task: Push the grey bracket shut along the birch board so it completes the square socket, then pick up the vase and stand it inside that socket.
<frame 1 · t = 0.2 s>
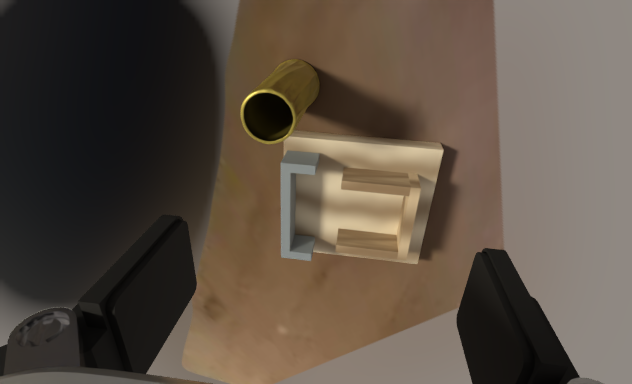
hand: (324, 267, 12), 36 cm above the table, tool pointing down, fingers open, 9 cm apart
board: (355, 195, 52), on the table
grey bracket: (299, 207, 48), point 5 cm above the table, slide at 6.0 cm
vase: (296, 84, 46), on the table
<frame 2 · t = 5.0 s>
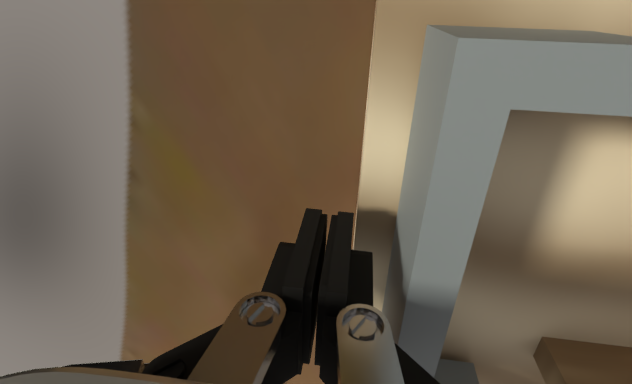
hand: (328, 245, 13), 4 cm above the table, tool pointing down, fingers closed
board: (601, 221, 15), on the table
grey bracket: (464, 284, 11), point 5 cm above the table, slide at 5.1 cm, touching gripper
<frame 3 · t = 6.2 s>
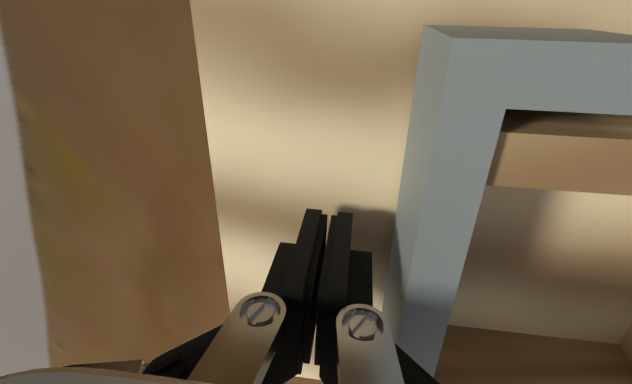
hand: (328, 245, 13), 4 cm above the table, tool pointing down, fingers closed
board: (465, 209, 15), on the table
grey bracket: (463, 283, 11), point 5 cm above the table, slide at -0.2 cm, touching gripper
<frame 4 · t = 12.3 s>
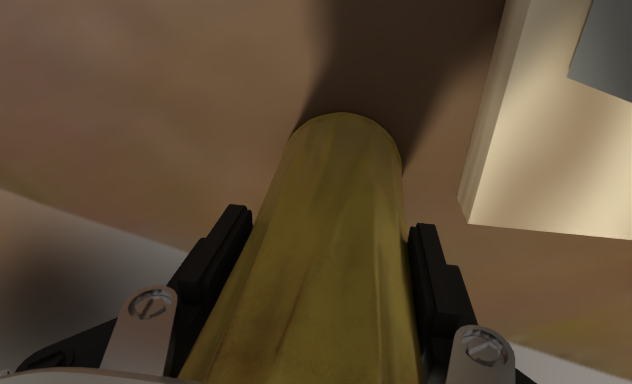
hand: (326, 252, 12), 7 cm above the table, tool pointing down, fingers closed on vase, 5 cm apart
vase: (341, 167, 19), on the table, touching gripper
when the fingers open (10 cm above the table, at t = 18.4 s): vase stays where it is, resting on board.
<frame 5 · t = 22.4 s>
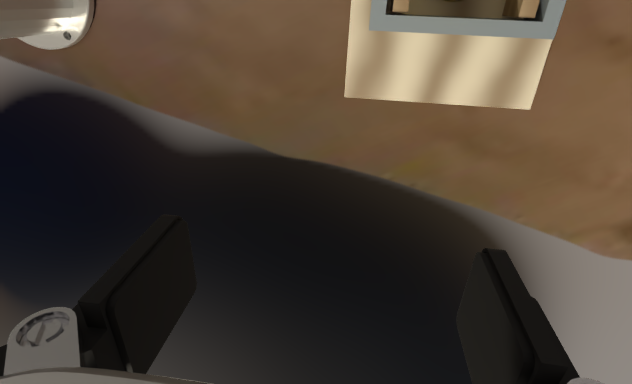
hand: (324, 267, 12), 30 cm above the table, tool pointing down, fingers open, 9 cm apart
grey bracket: (459, 5, 30), point 5 cm above the table, slide at 0.0 cm
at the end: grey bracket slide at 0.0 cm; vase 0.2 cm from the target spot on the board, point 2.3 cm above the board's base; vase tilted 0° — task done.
